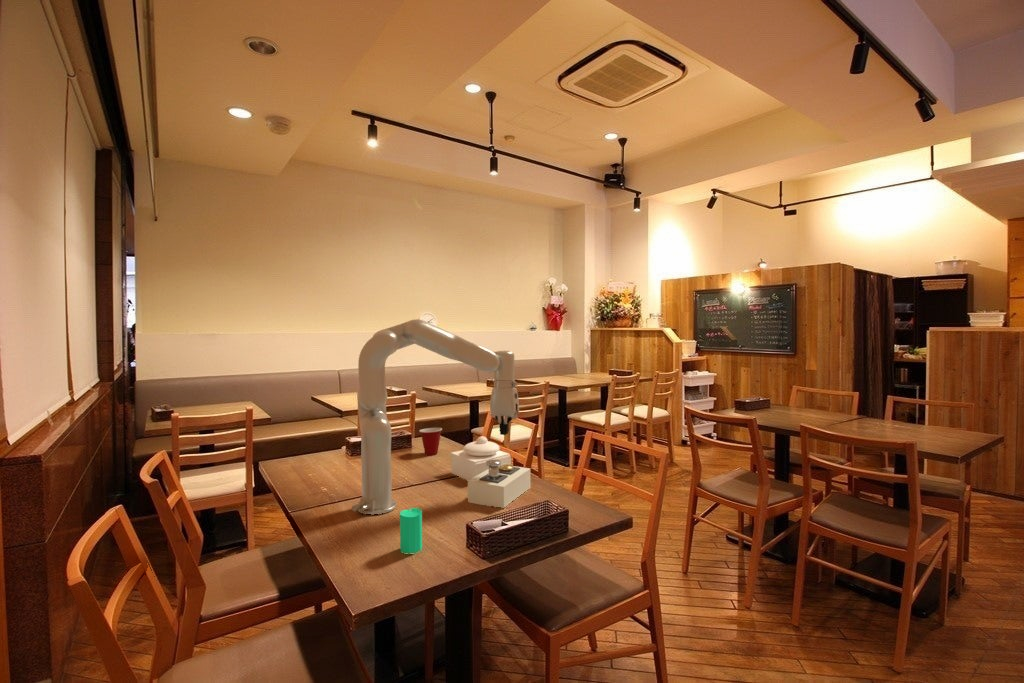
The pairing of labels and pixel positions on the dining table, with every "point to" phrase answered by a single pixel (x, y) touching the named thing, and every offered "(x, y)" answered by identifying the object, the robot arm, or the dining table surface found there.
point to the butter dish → (476, 458)
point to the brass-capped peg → (506, 467)
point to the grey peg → (493, 468)
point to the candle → (411, 530)
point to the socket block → (499, 487)
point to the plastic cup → (431, 440)
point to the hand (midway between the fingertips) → (504, 434)
